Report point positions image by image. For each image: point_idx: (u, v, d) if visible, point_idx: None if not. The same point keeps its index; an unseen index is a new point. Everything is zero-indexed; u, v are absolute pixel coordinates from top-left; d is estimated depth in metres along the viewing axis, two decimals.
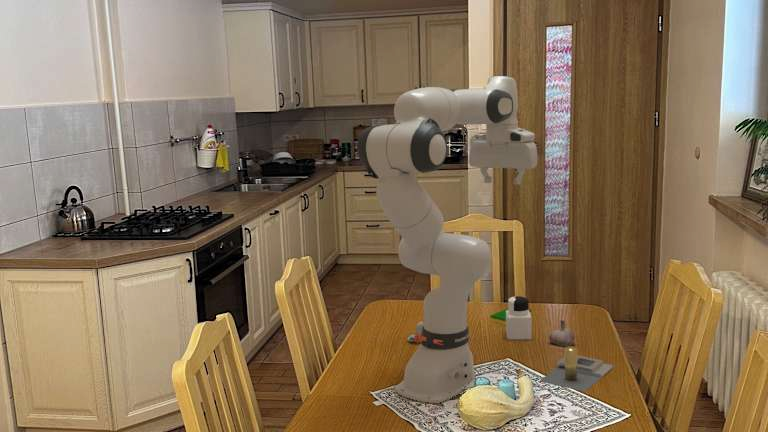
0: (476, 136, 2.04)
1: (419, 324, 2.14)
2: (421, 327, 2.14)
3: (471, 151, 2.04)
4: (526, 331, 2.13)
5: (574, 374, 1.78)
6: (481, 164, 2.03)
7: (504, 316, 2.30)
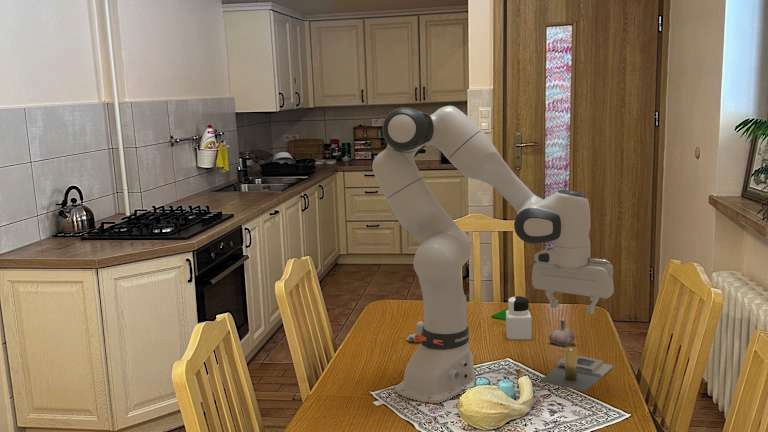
0: None
1: (418, 324, 2.14)
2: (420, 327, 2.14)
3: None
4: (526, 331, 2.13)
5: (574, 374, 1.78)
6: None
7: (505, 316, 2.30)
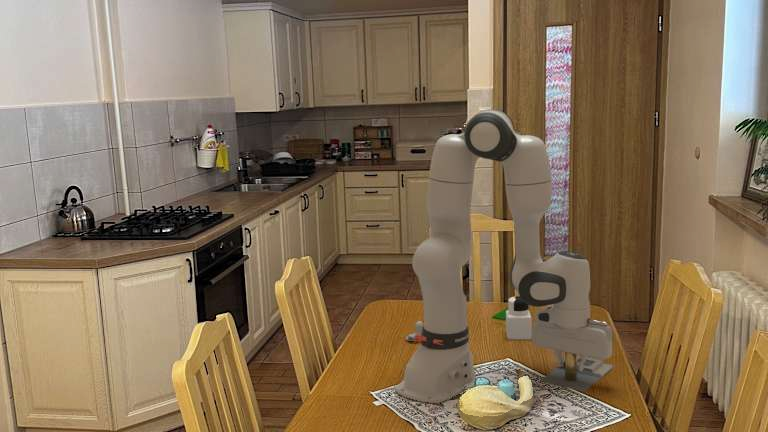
0: None
1: (417, 323, 2.15)
2: (419, 326, 2.15)
3: None
4: (526, 331, 2.13)
5: (574, 374, 1.78)
6: None
7: None
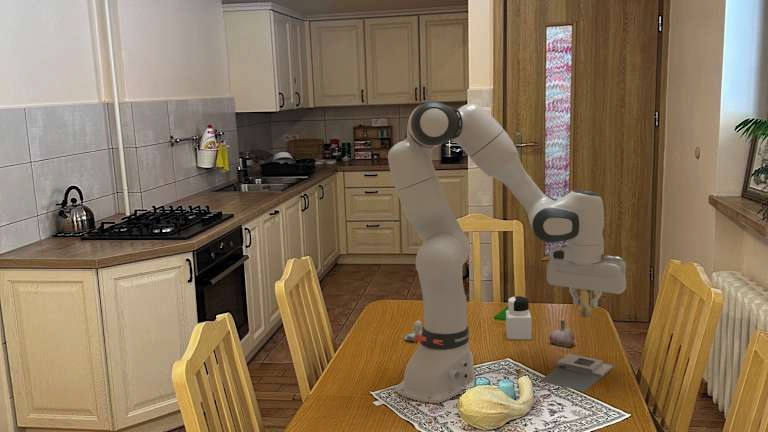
0: None
1: (416, 323, 2.15)
2: (418, 326, 2.15)
3: None
4: (526, 331, 2.13)
5: (589, 310, 1.82)
6: None
7: None
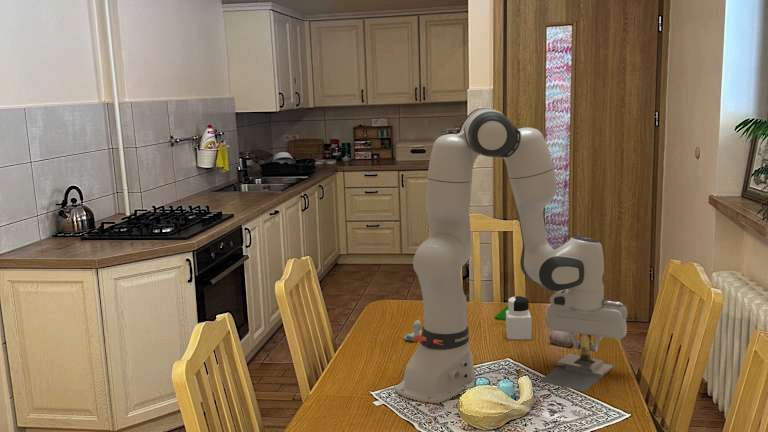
0: None
1: (415, 323, 2.15)
2: (417, 326, 2.15)
3: None
4: (526, 331, 2.13)
5: (589, 355, 1.84)
6: None
7: None
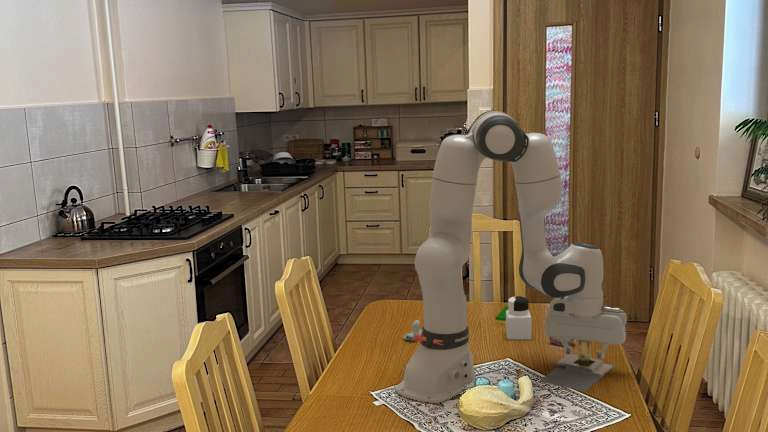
0: None
1: (415, 322, 2.15)
2: (417, 325, 2.16)
3: None
4: (526, 331, 2.13)
5: (588, 363, 1.85)
6: None
7: None
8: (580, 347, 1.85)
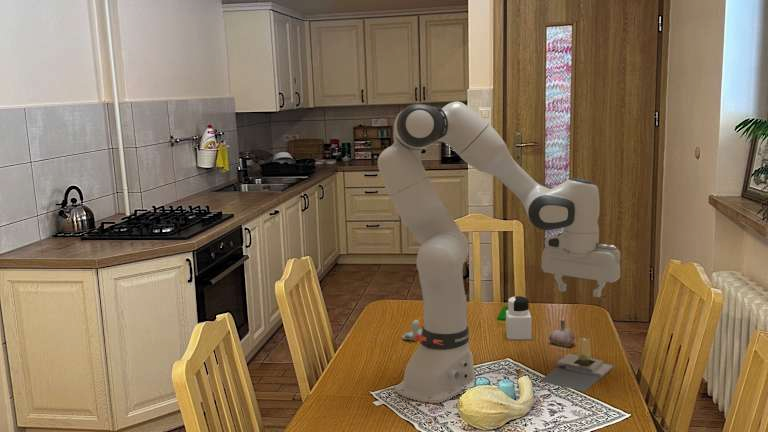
0: None
1: (414, 322, 2.16)
2: (416, 325, 2.16)
3: None
4: (526, 331, 2.13)
5: (588, 363, 1.85)
6: None
7: None
8: (580, 347, 1.85)
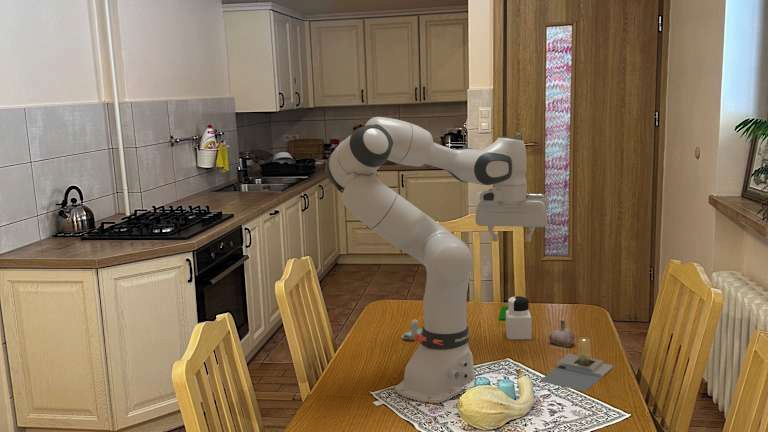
0: None
1: (413, 322, 2.16)
2: (415, 325, 2.16)
3: None
4: (526, 331, 2.13)
5: (588, 363, 1.85)
6: None
7: None
8: (580, 347, 1.85)
